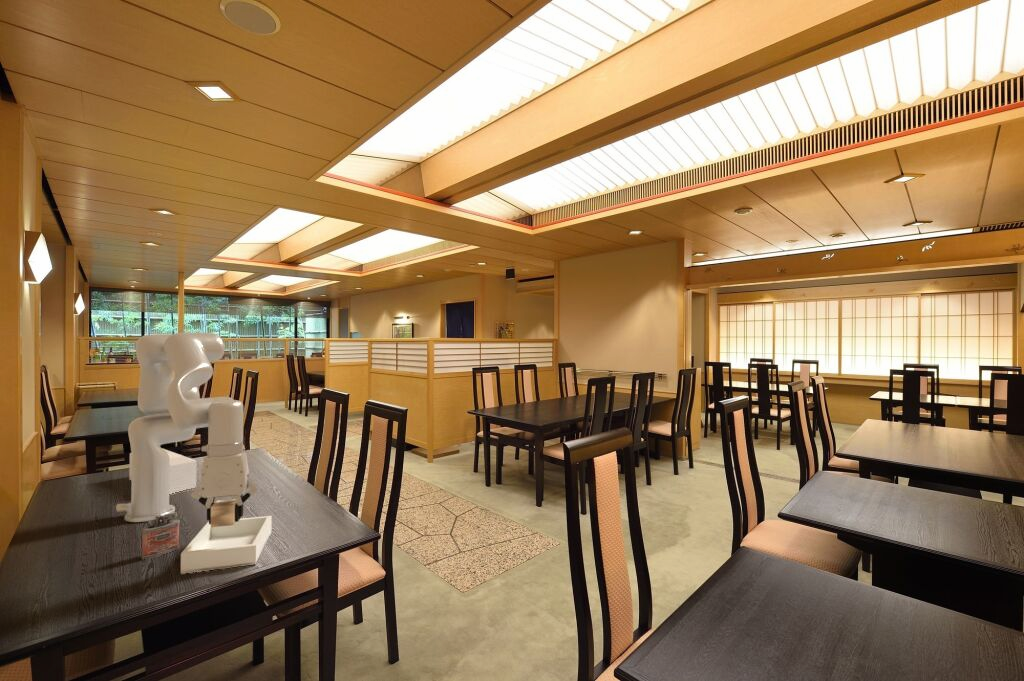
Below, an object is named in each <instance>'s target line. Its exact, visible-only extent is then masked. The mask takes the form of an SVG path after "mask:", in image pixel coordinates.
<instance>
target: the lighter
mask: <svg viewBox="0 0 1024 681" xmlns="http://www.w3.org/2000/svg"><path fill="white" fill-rule="evenodd" d="M177 516H178V513H177V512H175V511H174V512H173V513H169V514H165V515H163V516H162V515H157V516H156V517H155V518H151V519H148V521H147V524H148V526H145V527H143V528H142V529H141V532H142V554H141V560H144V559H145V560H151V559H154V557H155V558H159V557H161V555H162V556H164V555H163V554H165V555H167V554H166V553H168V554H170V553H169V552H171V553H173V552H172V551H174V552H176V551H175V550H177V551H179V550H180V542H179V541H180V540H179V539H180V524H181V520H180V519H174V518H177ZM172 519H173V520H172ZM178 549H179V550H178Z"/></svg>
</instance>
